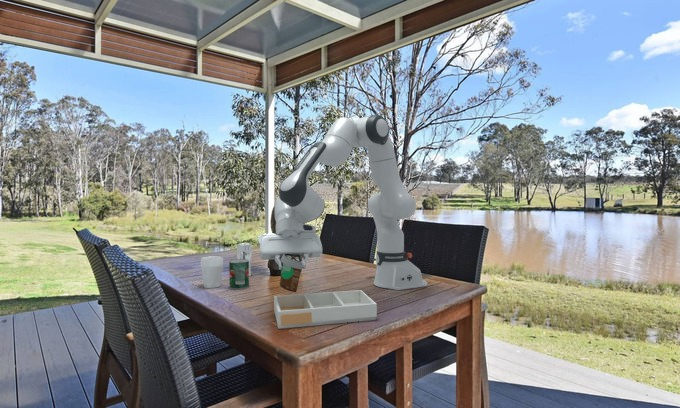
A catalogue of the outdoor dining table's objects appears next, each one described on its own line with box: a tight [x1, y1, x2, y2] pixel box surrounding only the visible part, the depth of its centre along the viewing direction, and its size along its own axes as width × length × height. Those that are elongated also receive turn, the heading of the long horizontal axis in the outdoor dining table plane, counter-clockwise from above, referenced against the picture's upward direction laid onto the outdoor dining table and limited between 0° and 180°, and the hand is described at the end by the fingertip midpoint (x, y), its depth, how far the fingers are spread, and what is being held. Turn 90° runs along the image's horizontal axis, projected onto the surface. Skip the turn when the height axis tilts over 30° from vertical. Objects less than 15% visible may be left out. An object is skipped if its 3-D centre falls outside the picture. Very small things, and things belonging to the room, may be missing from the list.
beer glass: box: [236, 242, 253, 278], centre depth 176 cm, size 7×7×15 cm
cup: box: [200, 255, 224, 289], centre depth 157 cm, size 9×9×12 cm
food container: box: [279, 253, 303, 293], centre depth 119 cm, size 12×6×10 cm, turn 10°
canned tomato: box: [228, 259, 250, 290], centre depth 156 cm, size 8×8×11 cm
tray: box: [273, 289, 378, 330], centre depth 121 cm, size 30×17×5 cm, turn 104°
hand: (292, 268), depth 118 cm, fingers closed on food container, 5 cm apart
